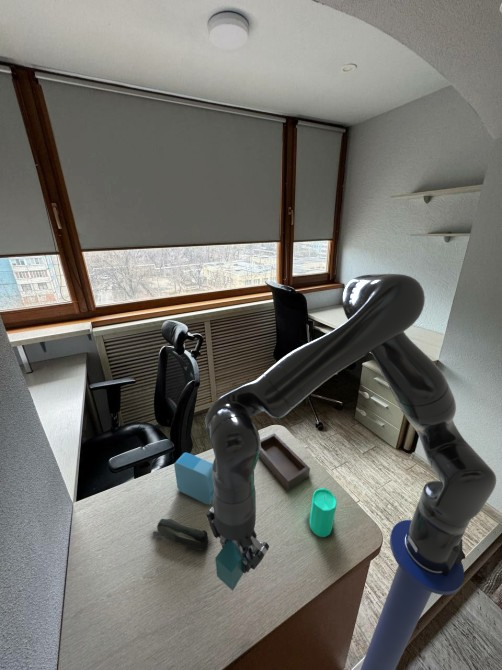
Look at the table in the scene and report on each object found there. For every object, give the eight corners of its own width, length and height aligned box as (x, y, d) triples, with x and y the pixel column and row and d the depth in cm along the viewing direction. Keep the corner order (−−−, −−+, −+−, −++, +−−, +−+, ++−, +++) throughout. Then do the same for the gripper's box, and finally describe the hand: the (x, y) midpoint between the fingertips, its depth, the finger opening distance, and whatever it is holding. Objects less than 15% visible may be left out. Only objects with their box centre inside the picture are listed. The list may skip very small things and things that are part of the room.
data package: (218, 493, 81) (216, 464, 77) (210, 506, 78) (208, 476, 73) (186, 478, 86) (183, 450, 81) (177, 490, 82) (173, 461, 78)
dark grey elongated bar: (209, 528, 68) (155, 513, 71) (204, 541, 65) (148, 525, 68) (209, 540, 69) (157, 525, 73) (205, 553, 67) (151, 537, 70)
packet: (256, 552, 57) (256, 534, 54) (232, 591, 51) (231, 572, 48) (241, 540, 59) (241, 522, 56) (216, 576, 53) (215, 557, 51)
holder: (309, 476, 87) (310, 468, 85) (287, 490, 82) (288, 481, 81) (274, 440, 101) (274, 432, 100) (254, 451, 97) (254, 442, 95)
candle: (310, 511, 76) (314, 481, 72) (332, 518, 75) (338, 488, 70) (307, 532, 71) (311, 501, 67) (331, 540, 69) (336, 509, 65)
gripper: (280, 508, 47) (277, 566, 53) (219, 468, 54) (222, 523, 61) (255, 547, 41) (255, 607, 48) (191, 496, 49) (198, 554, 55)
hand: (237, 559), depth 54 cm, fingers closed on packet, 4 cm apart
